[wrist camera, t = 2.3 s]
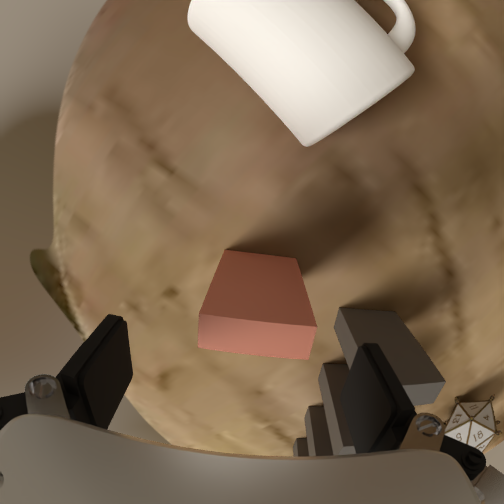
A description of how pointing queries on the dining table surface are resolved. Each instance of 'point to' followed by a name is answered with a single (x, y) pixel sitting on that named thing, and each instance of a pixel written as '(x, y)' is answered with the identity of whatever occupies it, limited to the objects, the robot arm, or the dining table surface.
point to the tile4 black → (317, 432)
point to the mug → (309, 56)
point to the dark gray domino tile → (335, 407)
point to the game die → (473, 423)
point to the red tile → (257, 308)
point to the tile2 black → (390, 350)
